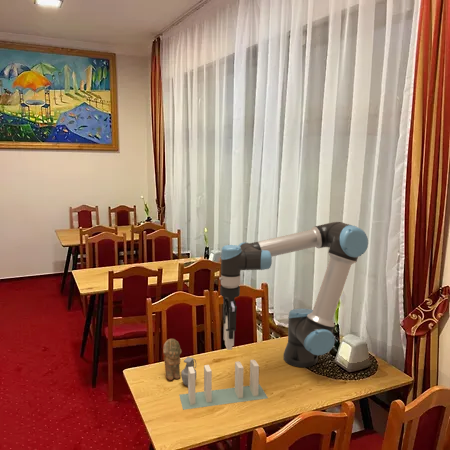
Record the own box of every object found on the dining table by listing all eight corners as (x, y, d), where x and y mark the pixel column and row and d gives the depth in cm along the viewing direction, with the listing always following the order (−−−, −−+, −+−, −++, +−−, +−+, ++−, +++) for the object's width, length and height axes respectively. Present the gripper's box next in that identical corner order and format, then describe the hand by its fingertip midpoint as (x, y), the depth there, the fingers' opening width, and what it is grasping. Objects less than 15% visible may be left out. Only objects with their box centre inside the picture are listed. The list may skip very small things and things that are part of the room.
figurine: (169, 383, 168) (168, 348, 166) (160, 375, 175) (160, 340, 173) (187, 378, 173) (187, 343, 170) (178, 369, 180) (178, 336, 177)
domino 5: (254, 388, 164) (254, 359, 162) (258, 395, 159) (258, 365, 157) (249, 389, 163) (250, 360, 162) (253, 396, 159) (254, 366, 157)
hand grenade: (192, 390, 163) (191, 363, 162) (178, 387, 166) (178, 361, 164) (199, 382, 169) (199, 356, 168) (186, 379, 171) (186, 354, 170)
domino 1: (193, 396, 158) (192, 366, 156) (195, 403, 153) (195, 373, 152) (188, 397, 158) (188, 367, 156) (190, 404, 153) (190, 373, 151)
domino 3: (229, 344, 169) (230, 315, 167) (232, 349, 164) (232, 319, 162) (224, 344, 168) (225, 315, 167) (227, 349, 164) (228, 320, 162)
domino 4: (239, 390, 162) (239, 361, 161) (242, 397, 158) (243, 367, 156) (234, 391, 162) (235, 361, 160) (238, 398, 157) (238, 368, 155)
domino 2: (208, 394, 160) (208, 364, 158) (211, 401, 155) (211, 371, 153) (204, 395, 159) (204, 365, 157) (206, 402, 154) (206, 371, 153)
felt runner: (259, 385, 167) (259, 384, 167) (268, 399, 158) (268, 398, 157) (179, 396, 159) (179, 394, 159) (183, 411, 150) (183, 409, 150)
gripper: (216, 279, 170) (215, 334, 174) (225, 292, 153) (223, 353, 156) (234, 278, 172) (232, 333, 175) (245, 292, 155) (243, 352, 158)
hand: (228, 342), depth 166 cm, fingers closed on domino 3, 5 cm apart
